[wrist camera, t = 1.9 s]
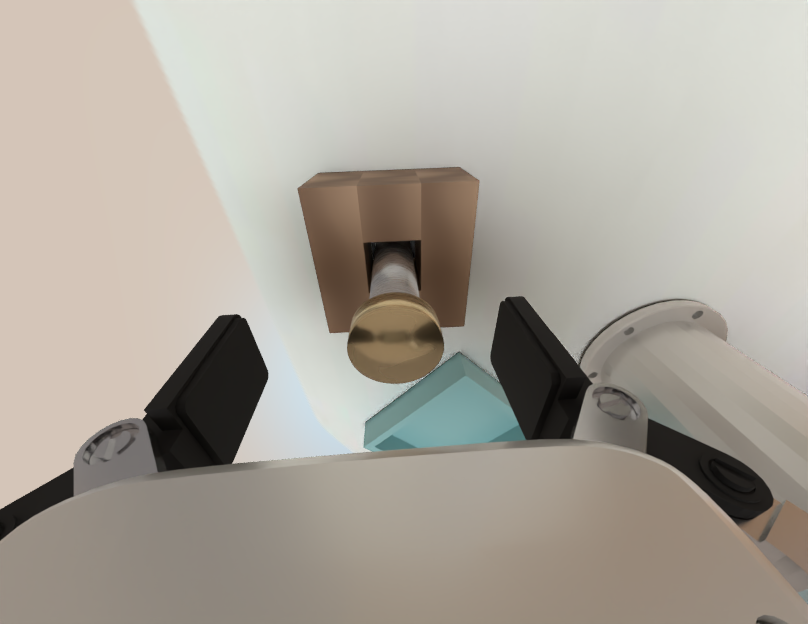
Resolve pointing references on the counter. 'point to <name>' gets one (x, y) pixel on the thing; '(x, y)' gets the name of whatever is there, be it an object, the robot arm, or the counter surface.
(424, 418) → the tray
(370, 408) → the counter surface
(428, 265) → the block
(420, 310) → the lock pin
